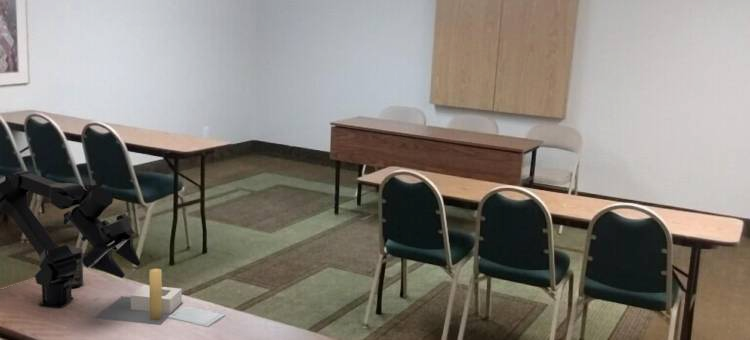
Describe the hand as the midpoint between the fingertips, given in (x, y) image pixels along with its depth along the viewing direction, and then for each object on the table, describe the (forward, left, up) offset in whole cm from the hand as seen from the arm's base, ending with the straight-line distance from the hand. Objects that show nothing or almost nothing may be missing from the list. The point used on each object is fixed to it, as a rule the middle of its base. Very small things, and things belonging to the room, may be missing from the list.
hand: (131, 270), depth 191 cm
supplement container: (-27, +17, -13) cm, 34 cm away
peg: (+6, 0, -12) cm, 14 cm away
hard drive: (+16, +3, -14) cm, 22 cm away
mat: (0, +4, -13) cm, 13 cm away
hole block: (+3, +8, -12) cm, 15 cm away
